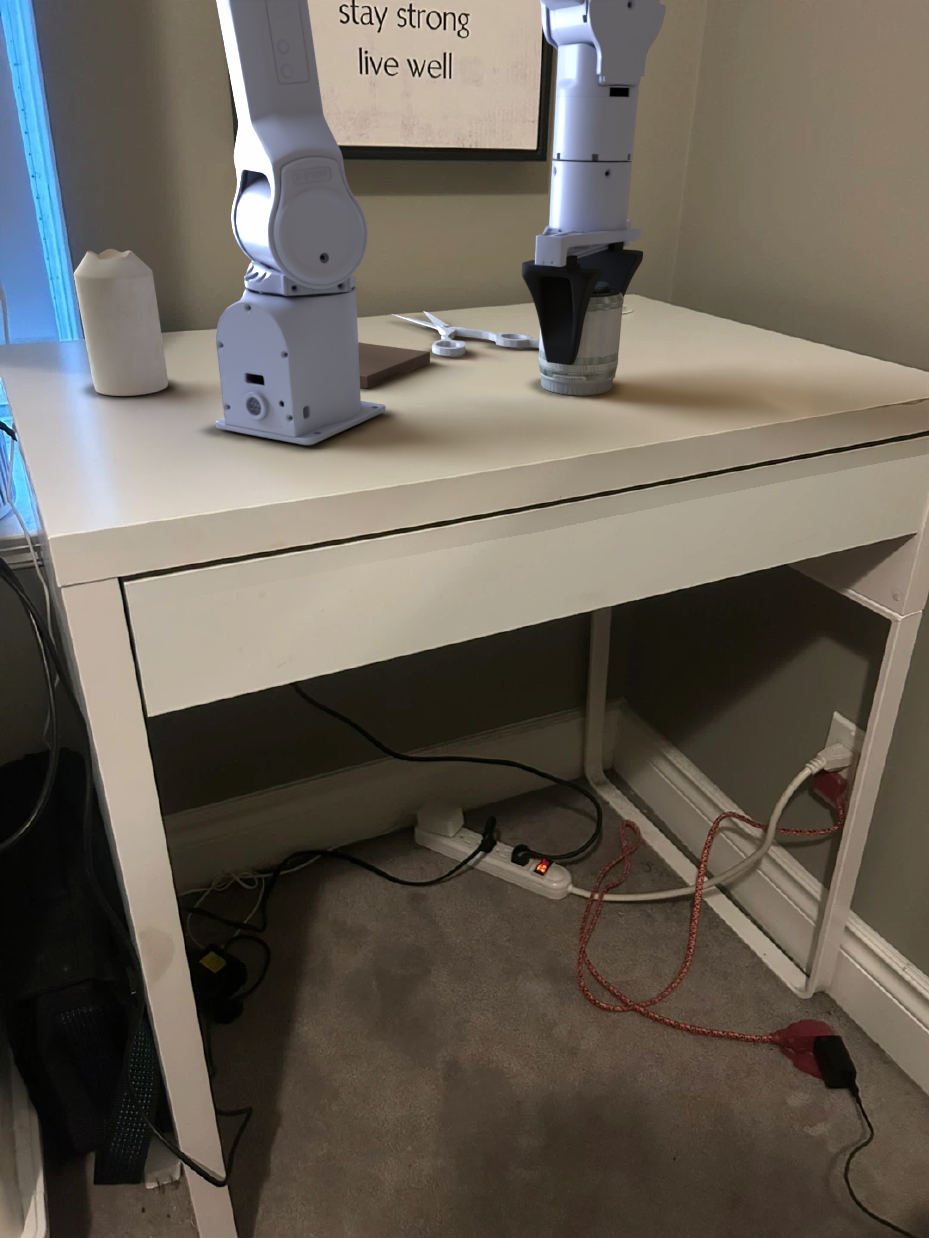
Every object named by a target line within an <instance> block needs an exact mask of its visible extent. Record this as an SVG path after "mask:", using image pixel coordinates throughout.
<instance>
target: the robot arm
mask: <svg viewBox="0 0 929 1238" xmlns="http://www.w3.org/2000/svg"><path fill="white" fill-rule="evenodd" d="M215 1H216V7H217V10H218V11H217V12H218V18H219V22H220V28H221V34H222V39H223V44H224V50H225V55H226V61H227V66H228V72H229V76H230V83H231V88H232V93H233V99H234V104H235V110H236V115H237V121H238V127H237V134H236V140H235V146H234V153H233V161H234V166H235V170H236V180H237V181H236V192H235V196H234V198H233V199H234V200H233V204H232V208H231V226H232V231H233V235H234V238H235V240H236V242H237V244H238V246H239V248H240V249H241V251H242V252H243V253H244V254H245V256H246V257H248V259H249V260H250V261H251V262H249V265H248V268H247V270H246V274H245V275H244V287H245V289H244V292H243V295H242V297H241V298H240V299H239V300H238V301H236V302H234V303H232V304H231V305H229V306H228V307H226V308H225V309H224V311H223V312H222V313H221V315H220V317H219V320H218V323H217V326H216V332H215V347H216V355H217V356H216V357H217V363H218V372H219V380H220V381H219V382H220V389H221V399H222V408H223V415H224V417H222V418H220V419H218V420H216V422H215V428H217V429H219V430H223V431H229V432H233V433H234V432H235V433H240V434H245V435H250V436H255V437H261V438H266V439H272V440H275V441H282V442H287V443H292V444H296V445H297V444H298V445H302V446H313V445H315V444H317V443H320V442H321V441H324V440H326V439H328V438H331V437H333V436H335V435H337V434H339V433H342V432H344V431H346V430H348V429H350V428H353V427H355V426H357V425H359V424H361V423H363V422H366V421H368V420H370V419H373V418H374V417H376V416H379V415H381V414H383V413H385V412H386V409H387V408H386V405H385V404H382V403H377V402H370V401H363V400H362V399H361V387H360V373H359V349H358V342H359V329H358V326H359V325H358V305H357V287H356V284H357V281H356V279H357V278H356V277H355V276H354V274H355V272H356V271H357V269H358V268H359V267H360V265H361V264H362V262H363V259H364V256H365V254H366V250H367V246H368V225H367V220H366V216H365V213H364V211H363V209H362V207H361V206H362V205H360V203H359V202H358V200H357V198H356V197H355V195H354V194H353V192H352V190H351V188H350V185H349V183H348V179H347V177H346V172H345V171H346V170H345V164H344V155H343V154H342V150H341V149H340V146H339V144H338V142H337V140H336V138H335V136H334V135H333V132H332V131H331V128H330V127H329V125H328V122H327V120H326V118H325V115H324V108H323V101H322V93H321V87H320V80H319V73H318V67H317V58H316V52H315V44H314V38H313V32H312V31H313V29H312V24H311V16H310V10H309V2H308V0H215ZM538 1H539V3H540V8H541V9H540V10H541V15H540V16H541V17H540V18H541V26H542V30H543V31H542V32H543V34H544V38H545V39H546V41H547V43H548V44H549V45H551V46H552V47H554V48H555V50H556V51H557V65H556V85H555V106H554V125H553V145H552V147H553V148H552V161H551V162H552V164H551V180H550V181H551V183H550V197H549V198H550V199H549V200H550V202H549V217H548V219H549V220H548V225H546V227H545V228H544V230H543V232H542V233H540V234H537V235H535V254H534V256H535V258H534V259H530V260H527V261H523V262H522V263H521V277H522V279H523V281H524V283H525V285H526V287H527V289H528V291H529V294H530V296H531V299H532V301H533V304H534V307H535V311H536V314H537V317H538V325H539V330H540V329H541V335H542V341H543V347H544V352H545V357H546V361H547V362H548V363H556V364H564V365H572V364H574V363H575V360H576V357H577V354H578V351H579V346H580V341H581V335H582V329H583V324H584V319H585V315H586V311H587V307H588V304H589V301H590V298H591V296H592V293H593V291H594V288H595V286H596V284H597V282H598V281H600V282H606V283H609V284H610V286H612V287H615V288H617V289H618V290H619V291H620V292H621V293H622V296H623V298H624V299H625V295H626V293H627V291H628V288H629V286H630V284H631V282H632V280H633V278H634V276H635V273H636V272H637V271H638V269H639V267H640V265H641V264H642V262H643V259H644V251H643V250H637V249H628V248H627V249H626V248H625V247H629V246H630V243H631V242H635V241H639V240H641V239H642V235H643V229H642V228H634V227H632V219H628V216H629V204H630V195H631V192H630V191H631V182H632V181H631V180H632V170H633V159H634V147H635V136H636V126H637V113H638V102H639V101H638V100H639V92H640V82H641V77H645V70H646V59H647V55H648V52H649V51H650V48H651V47H652V46H653V44H654V42H655V41H656V39H657V37H658V36H659V34H660V31H661V29H662V26H663V24H664V20H665V16H666V10H667V7H666V5H665V4H662V3H661V0H538Z"/></svg>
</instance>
